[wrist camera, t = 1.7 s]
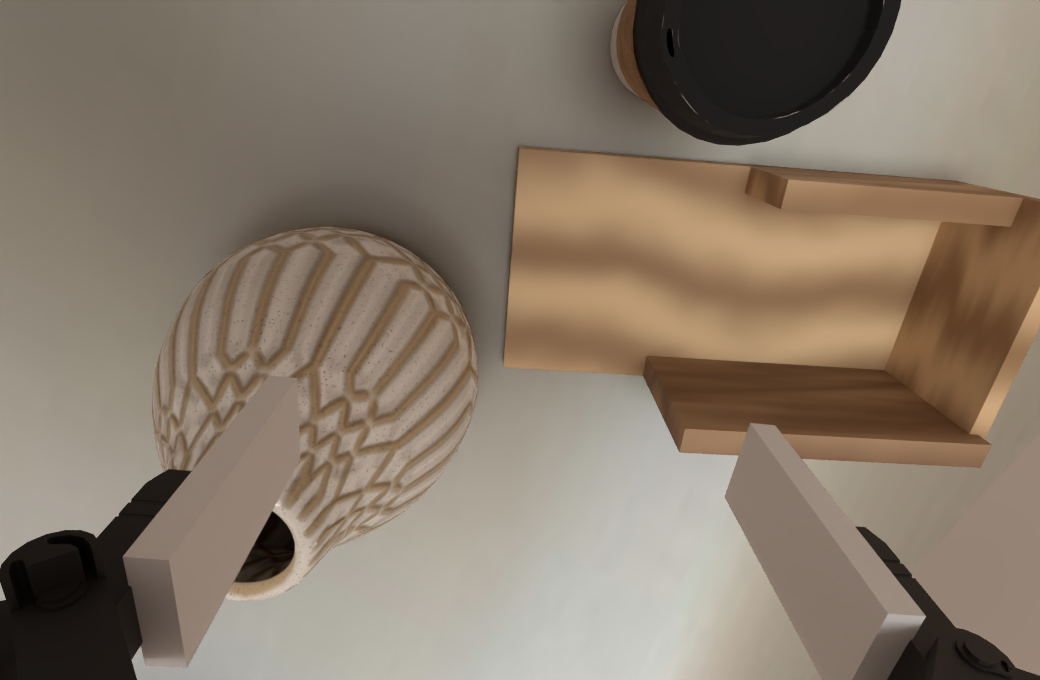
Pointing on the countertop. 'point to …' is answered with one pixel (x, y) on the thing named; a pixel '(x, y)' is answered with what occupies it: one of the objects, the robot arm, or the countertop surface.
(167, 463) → the vase
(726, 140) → the coffee cup
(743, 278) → the shelf
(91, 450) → the countertop surface
